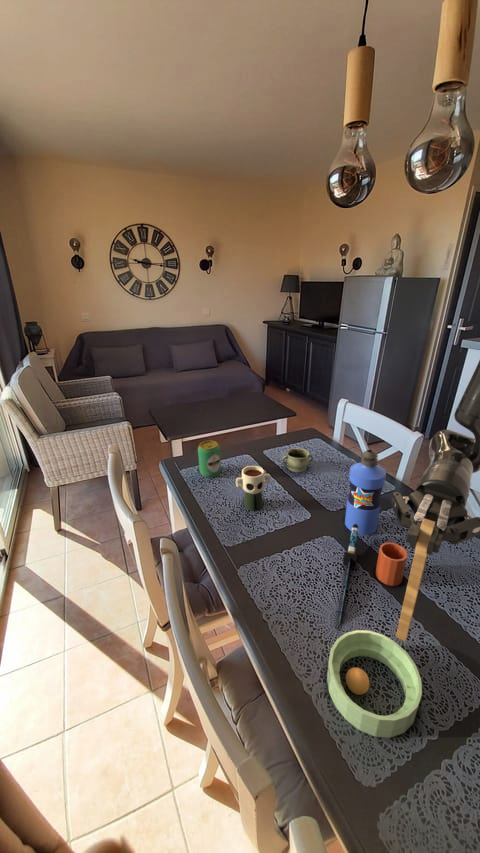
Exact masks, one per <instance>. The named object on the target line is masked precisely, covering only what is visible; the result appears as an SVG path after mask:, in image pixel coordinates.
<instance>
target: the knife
mask: <svg viewBox="0 0 480 853" xmlns="http://www.w3.org/2000/svg"><path fill="white" fill-rule="evenodd" d="M358 536H359V534H358V525H357V524H354V525H353V527H352V530H351V531H350V538H349V544H348V549H347V551H344V553H343V560H342V565H343V566H346V567H347V570H346V575H345V583H344V589H343V596H342V601H341V608H340V614H339V623H338V624H339V626H340V625H341V621H342V617H343V611H344V610H343V609H344V605H345V604H344V603H345V598H346V593H347V588H348V582H349V577H350V572H351V568H354V569H356V566H357V559H358V555H357V553H356V549H357V543H358V542H357V541H358Z"/></svg>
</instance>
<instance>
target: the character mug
mask: <svg viewBox="0 0 480 853" xmlns="http://www.w3.org/2000/svg"><path fill="white" fill-rule="evenodd" d="M265 478H266V480H265ZM270 481H271V475H270V474H269V473H265V469H263V467H261V466H260V465H259V466H258V465H248V466H245V467H243V468H242V470H241V476H240V477H236V479H235V486H236V487H237V488H242V490H243V491H244V497H243V505H244V507H245V508H246V509H247V510H249V511H255V508H256V510H260V509H261V508H263V507H264V499H263V492H262V491H263V490H264V489H265V484H270ZM240 482H241V483H240Z"/></svg>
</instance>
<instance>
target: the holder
mask: <svg viewBox="0 0 480 853" xmlns="http://www.w3.org/2000/svg"><path fill="white" fill-rule="evenodd" d="M407 560H408V552H407V550H406V548H404V547H403V546H402V545H400V544H398V543H395V542H390V541H389V542H383V543H382V544H381V545H380V546H379V549H378V556H377V561H376V562H377V563H376V566H375V567H376V568H375V576H376V578H377V579H378V580H379V581H380V582H381V583H383V584H384V585H386V586H390V587H396V586H399V585H401V584H402V582H403V579H404V573H405V568H406V563H407Z"/></svg>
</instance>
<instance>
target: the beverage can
mask: <svg viewBox="0 0 480 853" xmlns="http://www.w3.org/2000/svg"><path fill="white" fill-rule="evenodd" d="M197 455H198V466H199V473H200V474H202V475H201V476H202V477H203V476H204V477H203V478H206V477H209V478H208V479H212V478H211V477H213V478H217V477H218V476H219V475H220V473H221V471H222V464H221V448H220V445H219V444H218V442H217V441H215V440H205V441H202V442H200V443H199V445H198V447H197Z"/></svg>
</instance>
